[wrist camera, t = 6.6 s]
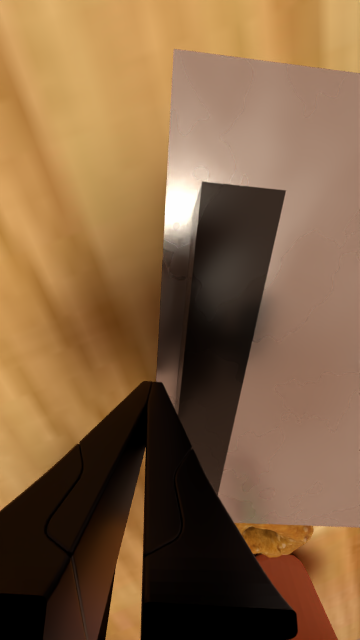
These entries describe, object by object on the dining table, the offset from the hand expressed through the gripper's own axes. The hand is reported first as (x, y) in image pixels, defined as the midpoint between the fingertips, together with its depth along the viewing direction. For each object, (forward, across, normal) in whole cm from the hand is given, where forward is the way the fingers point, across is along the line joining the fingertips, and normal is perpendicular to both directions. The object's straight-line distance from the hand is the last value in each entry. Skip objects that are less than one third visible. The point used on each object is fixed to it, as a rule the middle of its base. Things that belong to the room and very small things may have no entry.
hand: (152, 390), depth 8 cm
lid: (+2, -11, 0) cm, 11 cm away
